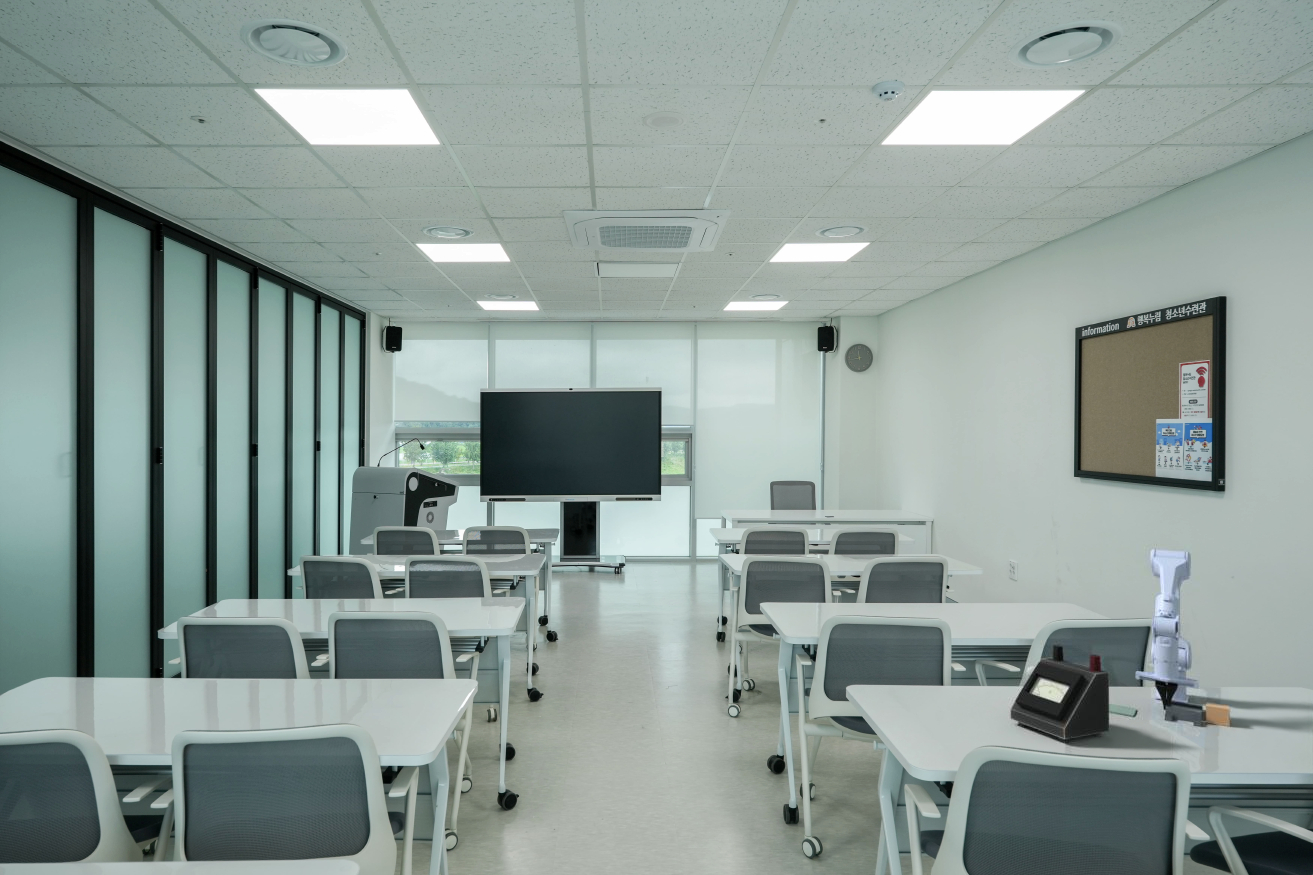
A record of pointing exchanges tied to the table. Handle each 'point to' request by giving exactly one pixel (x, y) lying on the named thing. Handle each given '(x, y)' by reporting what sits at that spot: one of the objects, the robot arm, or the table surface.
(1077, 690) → the voltmeter
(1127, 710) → the mat
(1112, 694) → the table surface
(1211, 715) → the plug
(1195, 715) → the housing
